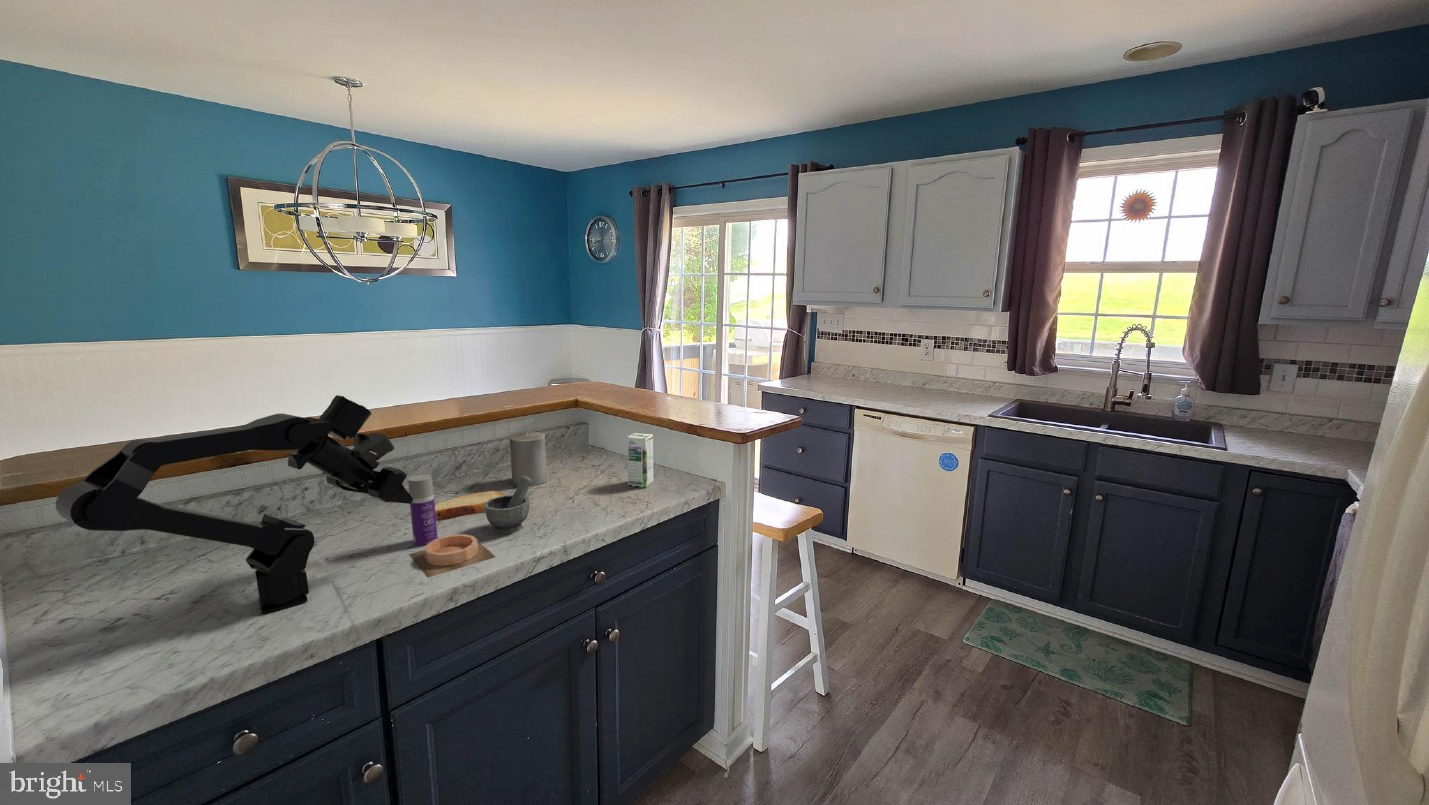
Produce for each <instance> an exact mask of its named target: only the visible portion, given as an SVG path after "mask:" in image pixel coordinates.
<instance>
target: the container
mask: <svg viewBox="0 0 1429 805" xmlns="http://www.w3.org/2000/svg"><path fill="white" fill-rule="evenodd" d="M407 479H408V480H407V482H408V493H409V494H410V495H411V497H412V498H413V501H412V502H411V504H409V507H410V508H409V509H410V518H411V527H412V528H411V529H412V537H413V538H412V539H413V545H414V546H417V547H426V545H427V544H428V543H430V542H432V541H434V540H435V539H438V538H439V537H438V529H437V528H438V527H437V521H436V514H435V504H436V503H435V494H434V488H433V487H434V486H433V478H432V475H430V474H426V473H425V474H416V475H412V476H410V477H408V478H407Z"/></svg>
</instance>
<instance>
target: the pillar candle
mask: <svg viewBox="0 0 1429 805" xmlns="http://www.w3.org/2000/svg"><path fill="white" fill-rule="evenodd" d="M545 437H546V434H544V433H543V432H539V431H524V432H518V433H514V434H512V435H510V436H509V446H510V447H509V448H510V463H511V464H510V466H511V468H510V469H511V481H512V482H511V483H512V485H514V486H516V487H518V485H519V483H520V478H521V477H522V476H525V477H528V478H530V479H532V483H531V484H530V486H529V488H530V487H535V486H536V485H537V486H540V485H541V484H543V483H547V481H548V474H547V455H546V454H547V453H546V438H545ZM537 486H536V487H537Z"/></svg>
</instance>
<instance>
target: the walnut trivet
mask: <svg viewBox="0 0 1429 805" xmlns="http://www.w3.org/2000/svg"><path fill="white" fill-rule="evenodd" d="M477 542H478V549H477V554H476V556H475V557H473V558H472V559H470V560H469V561H466V562H464V563H461V564H457V565H452V566H433V565H430V564H428V563H427V561H426V558H425V552H424V549H423V550H419V551H416V552H412V553H409V554H408V555H409V556H410V557H411V559H412V560H413V561H414V562H415V564H416V565H417V566H418V567H419V568H420V570H421V571H422V572H423V574H424V575H425V576H426V577H427V578H430V577H433V576H438V575H440V574H444V573H447V572H451V571H454V570H458V569H461V568H464V567H467V566H470V565H474V564H477V563H481V562H484V561H487V560H491V559H494V558H496V556H495V555H494V554H493V553H492V552H491V551H489V549H488V548H486V547H485V546H484V545H483V544H481V542H479V540H477Z"/></svg>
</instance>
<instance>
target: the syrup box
mask: <svg viewBox="0 0 1429 805" xmlns="http://www.w3.org/2000/svg"><path fill="white" fill-rule="evenodd" d="M626 443H627V472H628V473H627V483H628V485H632V486H631V487H635V486H639V487H638V488H644V487H645V488H644V489H646V488H648V487H649V486H650V485H651V484H653V483H654V434H652V433H651V434H646V433H639V432H634V433H631V434H630V435H628V436H627V442H626ZM652 482H653V483H652ZM650 483H651V484H650ZM648 485H649V486H648ZM647 486H648V487H647Z"/></svg>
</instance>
